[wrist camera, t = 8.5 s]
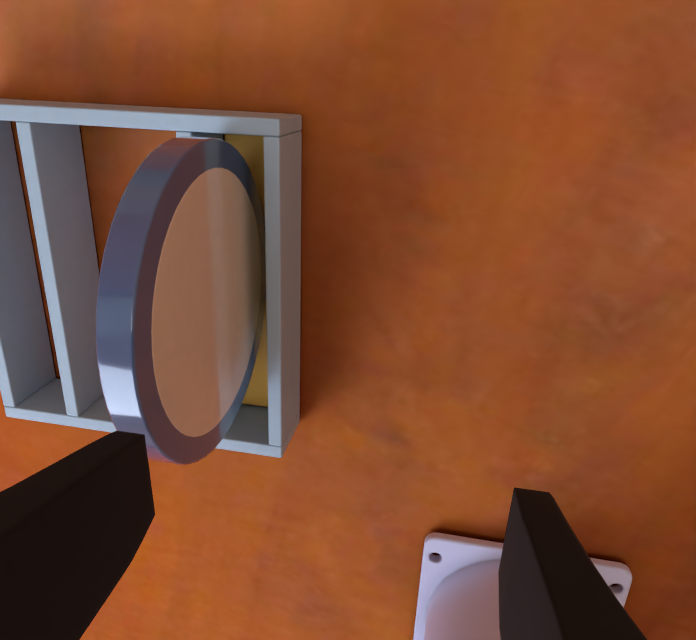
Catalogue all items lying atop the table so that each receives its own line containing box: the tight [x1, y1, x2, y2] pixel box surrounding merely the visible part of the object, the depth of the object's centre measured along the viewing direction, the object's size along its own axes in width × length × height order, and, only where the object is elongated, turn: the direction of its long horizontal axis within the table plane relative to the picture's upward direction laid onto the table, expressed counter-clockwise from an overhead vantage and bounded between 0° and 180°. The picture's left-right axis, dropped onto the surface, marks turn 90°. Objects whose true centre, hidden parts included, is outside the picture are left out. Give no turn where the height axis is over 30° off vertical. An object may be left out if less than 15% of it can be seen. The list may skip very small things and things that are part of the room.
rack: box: [0, 98, 302, 458], centre depth 21 cm, size 12×11×2 cm
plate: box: [95, 136, 266, 465], centre depth 17 cm, size 9×1×9 cm, turn 178°
